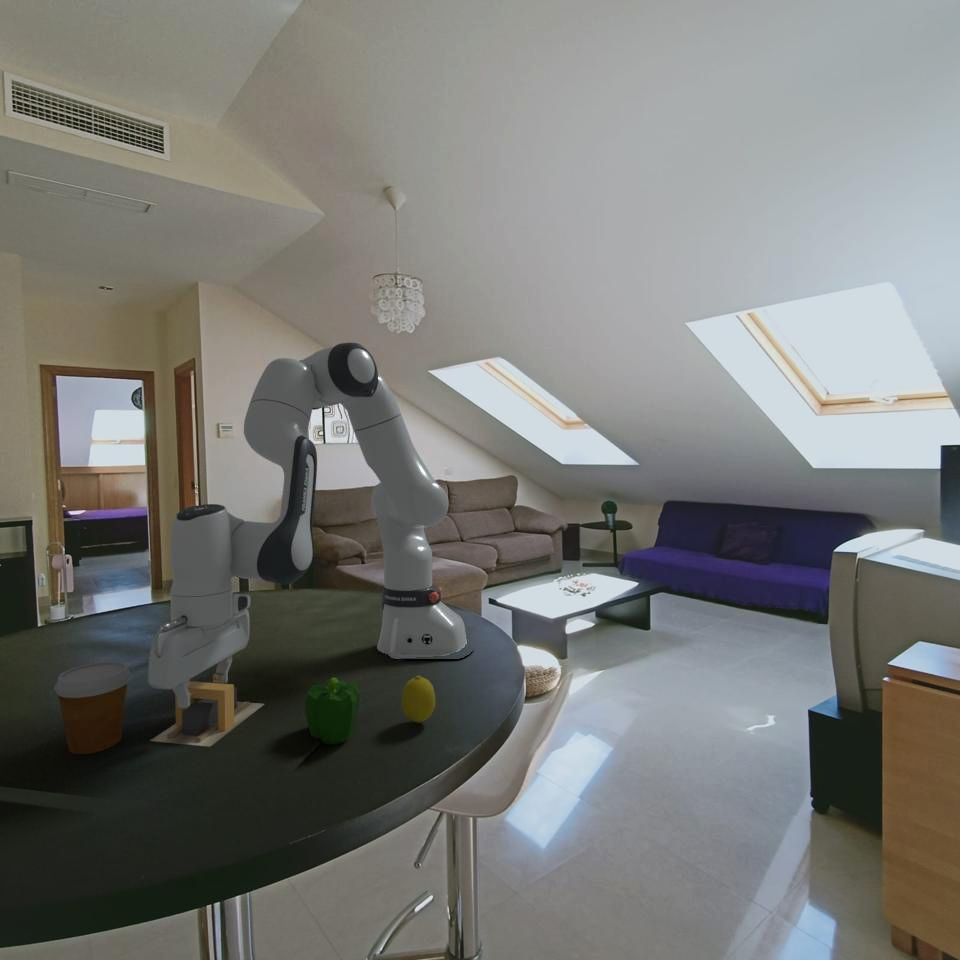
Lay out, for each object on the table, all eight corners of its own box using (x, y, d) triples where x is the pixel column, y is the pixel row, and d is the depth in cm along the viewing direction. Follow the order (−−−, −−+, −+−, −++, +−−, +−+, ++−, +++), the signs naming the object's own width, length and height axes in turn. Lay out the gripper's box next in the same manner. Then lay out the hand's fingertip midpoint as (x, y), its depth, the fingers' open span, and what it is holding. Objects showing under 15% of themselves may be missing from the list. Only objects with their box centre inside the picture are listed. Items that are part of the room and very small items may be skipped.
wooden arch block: (234, 724, 93) (233, 684, 93) (225, 731, 91) (224, 690, 91) (186, 719, 95) (185, 680, 95) (175, 726, 93) (175, 686, 92)
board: (264, 710, 101) (264, 700, 101) (210, 754, 86) (209, 742, 86) (212, 706, 103) (212, 696, 103) (150, 748, 88) (149, 736, 88)
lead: (237, 708, 99) (236, 687, 99) (198, 736, 89) (198, 713, 89) (222, 707, 100) (221, 686, 99) (182, 734, 90) (182, 711, 90)
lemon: (421, 734, 92) (421, 685, 92) (394, 726, 95) (394, 677, 95) (442, 721, 97) (442, 674, 97) (415, 713, 100) (415, 667, 100)
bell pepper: (310, 726, 95) (310, 665, 95) (362, 724, 96) (361, 664, 96) (298, 752, 87) (298, 686, 87) (354, 750, 88) (354, 684, 87)
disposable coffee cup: (40, 760, 85) (38, 678, 84) (103, 731, 93) (101, 657, 93) (86, 773, 81) (84, 688, 81) (147, 741, 90) (145, 665, 90)
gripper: (174, 628, 81) (176, 726, 82) (256, 594, 102) (257, 673, 102) (134, 626, 83) (137, 722, 83) (223, 592, 103) (224, 670, 103)
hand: (203, 694), depth 93 cm, fingers open, 7 cm apart
